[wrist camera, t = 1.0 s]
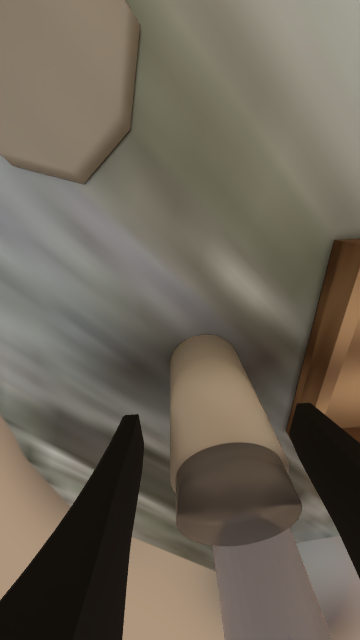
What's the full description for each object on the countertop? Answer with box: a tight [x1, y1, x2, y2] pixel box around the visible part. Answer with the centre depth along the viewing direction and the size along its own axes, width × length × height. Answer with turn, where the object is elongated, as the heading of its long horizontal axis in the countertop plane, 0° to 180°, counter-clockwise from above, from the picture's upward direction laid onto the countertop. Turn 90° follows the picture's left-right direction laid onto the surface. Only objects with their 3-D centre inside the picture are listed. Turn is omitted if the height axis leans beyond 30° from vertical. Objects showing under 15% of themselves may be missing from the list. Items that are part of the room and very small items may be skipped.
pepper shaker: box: [170, 335, 302, 546], centre depth 10 cm, size 4×4×8 cm
